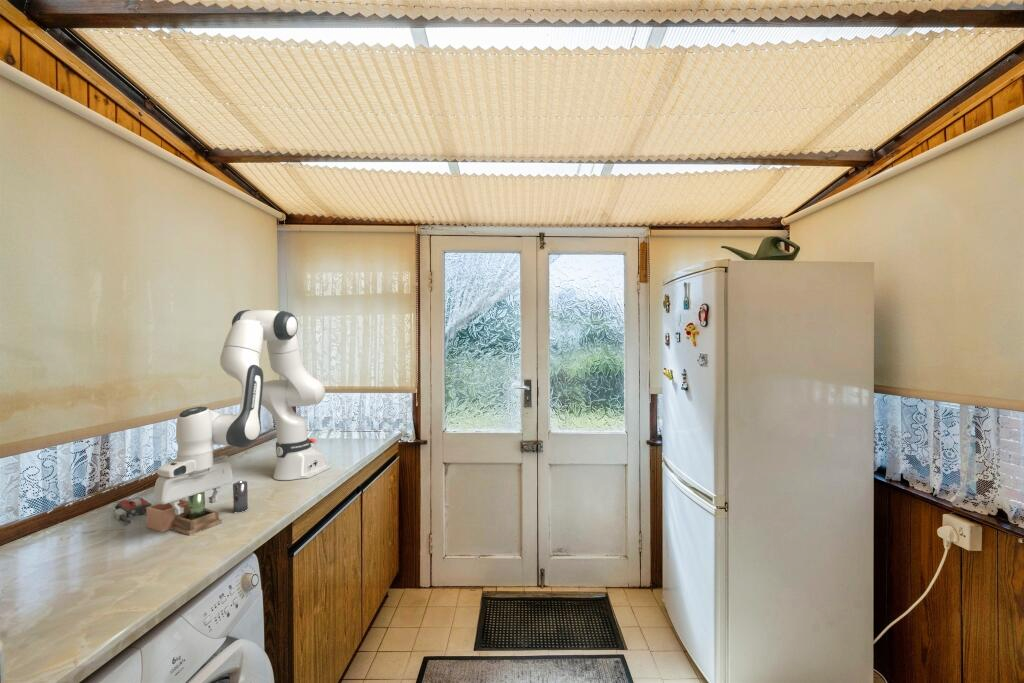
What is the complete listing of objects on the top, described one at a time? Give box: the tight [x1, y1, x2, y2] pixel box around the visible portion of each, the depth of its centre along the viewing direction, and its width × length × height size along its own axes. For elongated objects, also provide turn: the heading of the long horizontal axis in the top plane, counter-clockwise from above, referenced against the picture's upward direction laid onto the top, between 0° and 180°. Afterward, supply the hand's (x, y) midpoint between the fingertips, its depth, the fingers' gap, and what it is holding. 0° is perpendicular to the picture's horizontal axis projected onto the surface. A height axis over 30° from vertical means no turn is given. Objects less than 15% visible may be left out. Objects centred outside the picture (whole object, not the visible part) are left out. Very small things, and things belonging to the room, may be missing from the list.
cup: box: [146, 498, 189, 533], centre depth 134 cm, size 8×8×6 cm
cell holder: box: [171, 507, 223, 536], centre depth 133 cm, size 9×9×4 cm
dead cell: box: [232, 480, 249, 513], centre depth 144 cm, size 4×4×10 cm
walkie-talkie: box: [114, 496, 152, 524], centre depth 142 cm, size 9×4×20 cm
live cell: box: [187, 491, 206, 520], centre depth 133 cm, size 4×4×10 cm
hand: (196, 508), depth 133 cm, fingers open, 8 cm apart
